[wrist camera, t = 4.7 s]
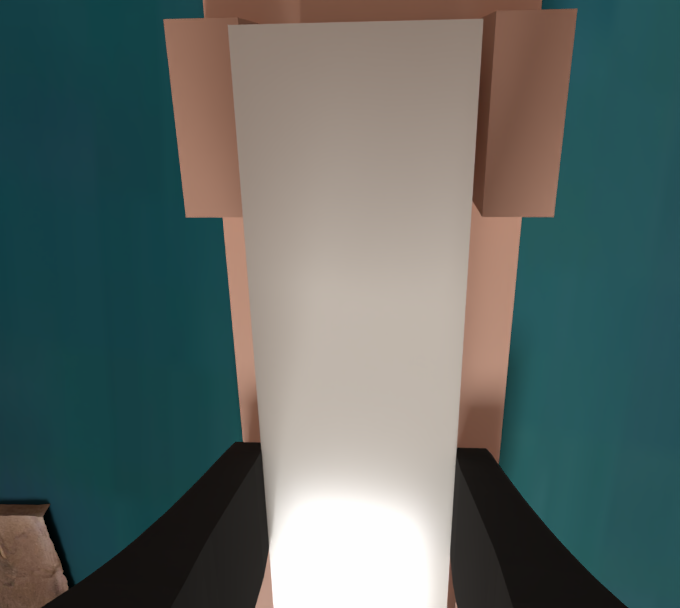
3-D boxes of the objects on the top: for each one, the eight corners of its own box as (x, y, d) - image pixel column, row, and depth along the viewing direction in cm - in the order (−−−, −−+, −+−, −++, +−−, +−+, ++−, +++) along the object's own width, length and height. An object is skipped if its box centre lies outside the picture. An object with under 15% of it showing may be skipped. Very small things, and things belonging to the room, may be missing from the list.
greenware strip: (443, 35, 14) (483, 18, 8) (421, 576, 20) (436, 779, 14) (290, 39, 14) (227, 25, 8) (313, 572, 20) (286, 769, 14)
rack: (534, -24, 15) (584, -52, 11) (482, 573, 22) (501, 678, 18) (212, -15, 15) (156, -39, 12) (261, 564, 22) (236, 664, 19)
